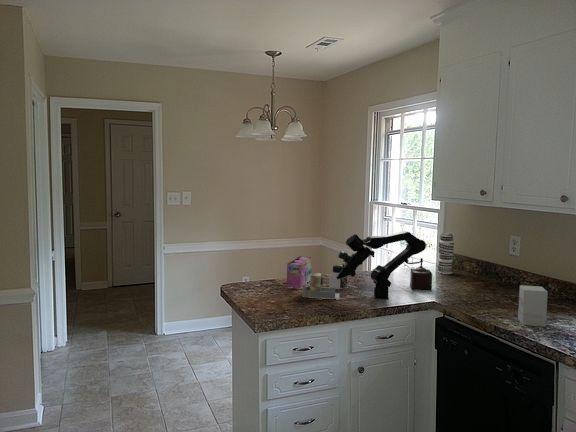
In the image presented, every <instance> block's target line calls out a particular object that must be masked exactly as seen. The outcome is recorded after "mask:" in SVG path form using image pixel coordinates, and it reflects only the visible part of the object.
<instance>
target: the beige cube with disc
mask: <svg viewBox="0 0 576 432" xmlns="http://www.w3.org/2000/svg"><path fill="white" fill-rule="evenodd" d="M323 279H324V278H323V276H322V273H320V272H319V273H318V272H311V278H310V282H309V283H310V284H309V285H310V286H309V287H310V290H311V291H321V287H322V286H323V284H324V283H323V282H324V281H323Z"/></svg>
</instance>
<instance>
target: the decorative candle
mask: <svg viewBox="0 0 576 432" xmlns="http://www.w3.org/2000/svg"><path fill="white" fill-rule="evenodd" d="M439 236H440V237H439V242H438V247H439V248H438V255H439V258H438V263H437V264H438V267H437V268H438V269H437V270H438V271H437V273H438V272H439V274H441V273H442V275H450V274H453V266H454V265H453V255H454V252H453V251H454V248H455V247H454V245H455V243H454V235H453V234H452V233H451V232H442V233H441V234H440V235H439Z"/></svg>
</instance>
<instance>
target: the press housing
mask: <svg viewBox="0 0 576 432" xmlns="http://www.w3.org/2000/svg"><path fill="white" fill-rule="evenodd" d="M336 290H337V289H336V288H331V287H329V286H327V287H325V286H321V291H311V290H310V286H308V284H307V281H304V283H303V288H302V294H301V295H302V296H301V297H309V298H321V299H320V300H322V299H336V300H335V301H340V293H339V292H338V293H337V292H336Z"/></svg>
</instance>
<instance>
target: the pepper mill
mask: <svg viewBox="0 0 576 432" xmlns="http://www.w3.org/2000/svg"><path fill="white" fill-rule="evenodd" d="M423 262H424V258H423V257H420V261H412V262H410V261H409V259H407V260H406V261H405V262H404V263H405V264H407V265H415V264H420V266H418V267H417V268H411V269H410V280H409V281H410V282H409V288H410V289H411V290H412V291H432V290H433V289H432V287H433V273H432V272H431V270H430V269H428V268H425V267H424V266H423Z"/></svg>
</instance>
